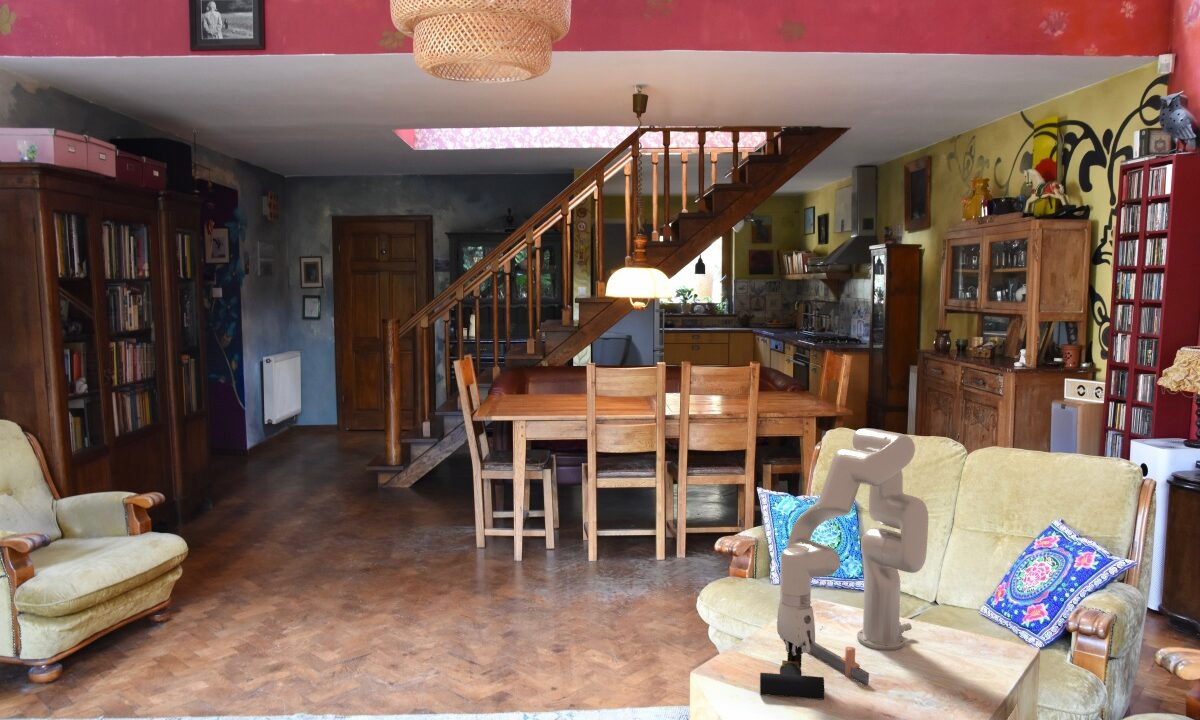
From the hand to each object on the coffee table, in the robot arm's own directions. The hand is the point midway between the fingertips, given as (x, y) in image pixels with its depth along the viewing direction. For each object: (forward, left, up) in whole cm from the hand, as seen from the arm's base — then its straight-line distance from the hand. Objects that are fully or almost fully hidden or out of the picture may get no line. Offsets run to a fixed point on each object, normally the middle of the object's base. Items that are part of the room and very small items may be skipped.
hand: (794, 667), depth 217 cm
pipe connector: (+6, +6, -2) cm, 8 cm away
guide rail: (-12, +1, -2) cm, 12 cm away
